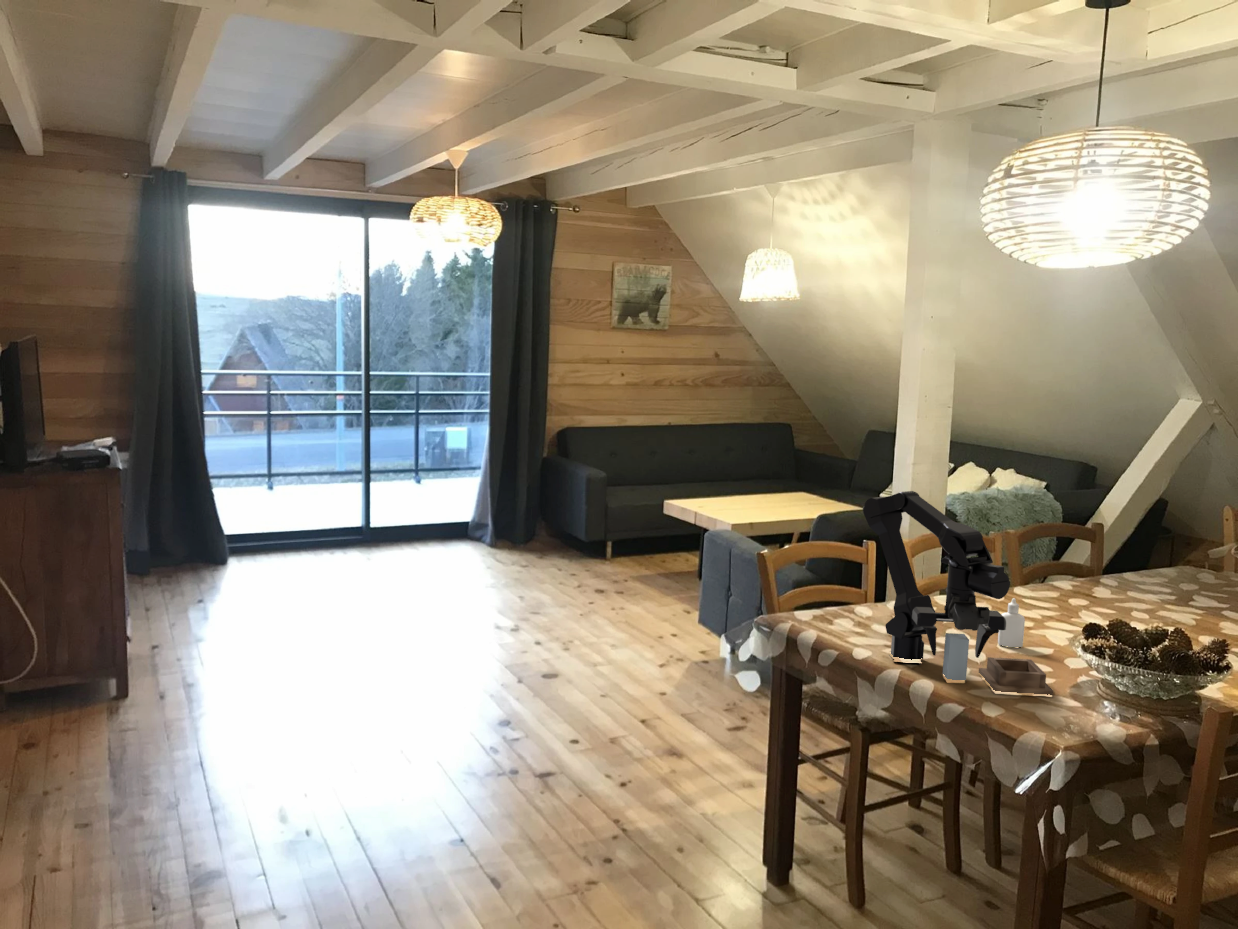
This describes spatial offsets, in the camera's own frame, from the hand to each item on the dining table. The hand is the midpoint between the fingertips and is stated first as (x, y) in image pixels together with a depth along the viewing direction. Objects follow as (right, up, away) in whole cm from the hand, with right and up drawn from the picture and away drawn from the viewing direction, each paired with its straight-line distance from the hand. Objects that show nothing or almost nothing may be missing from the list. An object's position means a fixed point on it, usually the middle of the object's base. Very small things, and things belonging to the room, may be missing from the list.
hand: (955, 656), depth 212 cm
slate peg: (0, -5, +1) cm, 6 cm away
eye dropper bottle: (+22, -3, +25) cm, 33 cm away
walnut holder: (+12, -6, -2) cm, 14 cm away
